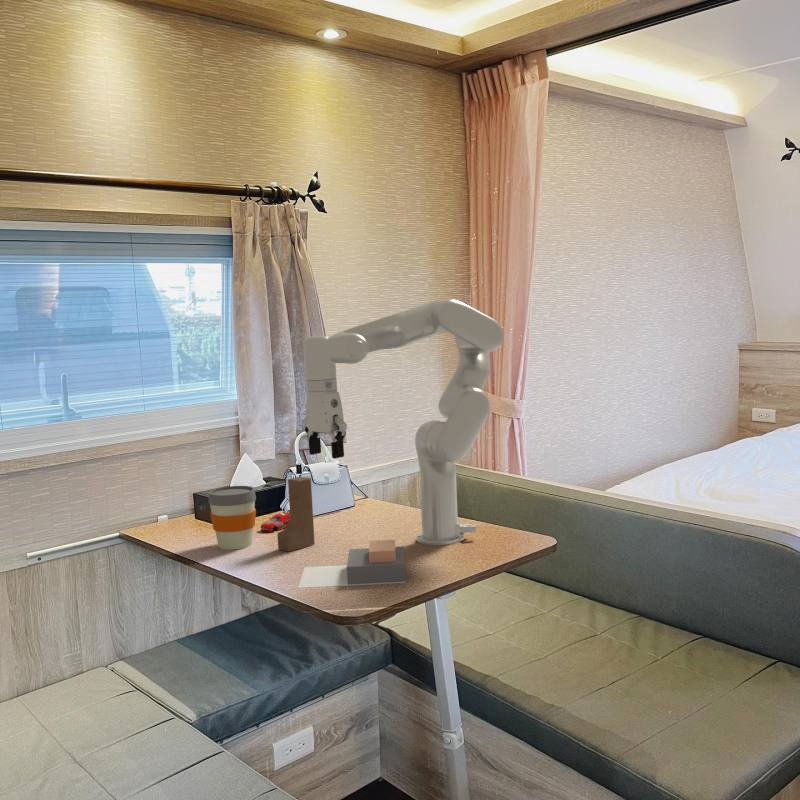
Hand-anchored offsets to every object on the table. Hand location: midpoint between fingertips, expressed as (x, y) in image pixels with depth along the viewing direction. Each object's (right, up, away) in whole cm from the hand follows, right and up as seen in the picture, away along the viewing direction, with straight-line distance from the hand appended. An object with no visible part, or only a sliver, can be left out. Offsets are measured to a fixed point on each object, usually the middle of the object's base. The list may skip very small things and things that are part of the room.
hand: (326, 455), depth 202 cm
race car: (-17, -24, +36) cm, 46 cm away
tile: (+14, -21, -13) cm, 28 cm away
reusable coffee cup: (-26, -26, +19) cm, 41 cm away
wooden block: (-9, -25, +14) cm, 30 cm away
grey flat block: (+13, -26, -12) cm, 32 cm away
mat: (+7, -27, -12) cm, 31 cm away
